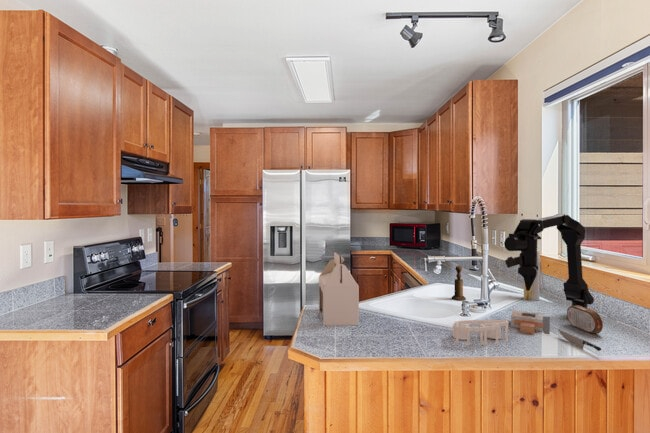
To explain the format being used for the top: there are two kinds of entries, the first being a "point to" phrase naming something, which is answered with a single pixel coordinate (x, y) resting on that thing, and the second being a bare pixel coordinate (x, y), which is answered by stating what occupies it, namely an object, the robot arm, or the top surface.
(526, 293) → the brass pin
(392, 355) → the top surface
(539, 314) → the clevis bracket
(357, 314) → the gable box
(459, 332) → the car outline toy
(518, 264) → the robot arm
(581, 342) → the chef's knife
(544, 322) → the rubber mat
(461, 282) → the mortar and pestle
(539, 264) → the water bottle
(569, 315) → the tin
